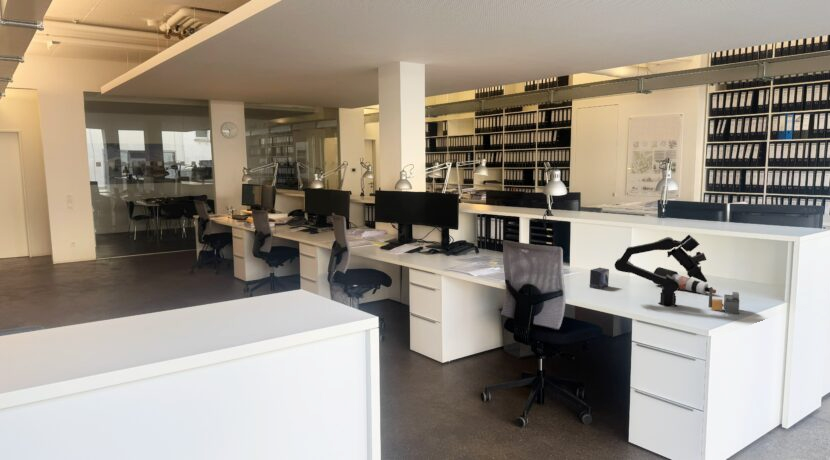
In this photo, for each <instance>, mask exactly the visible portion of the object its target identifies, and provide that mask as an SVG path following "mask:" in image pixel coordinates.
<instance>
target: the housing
mask: <svg viewBox="0 0 830 460" xmlns="http://www.w3.org/2000/svg"><path fill="white" fill-rule="evenodd" d="M739 293H740V292H738V291H732V294H724V299H723V305H724V307H723V310H724V314H730V315H731V314H732V315H739V314H740V313H739V311H740V294H739Z"/></svg>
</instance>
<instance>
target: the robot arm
mask: <svg viewBox="0 0 830 460" xmlns="http://www.w3.org/2000/svg"><path fill="white" fill-rule="evenodd" d="M699 245H700V243H699V242H698V240H697V239H695V238H694V237H693V236H692V235H690V234H687V235H686V236H685V238H683V239H682V240H676V239H674V238H672V237H670V236H667V237H664V238H661V239H659V240H657V241H654V242H649V243H645V244H638V245H635V246H627V248H626V249H625V252H624V253H623V254H622V256H621V257H620V258H618V259H616V261H615V263H614V268H615V270H616V271H619V272H622V273H629V274H633V275H636V276H638V277H641V278H643V279H645V280H648V281H651V282H652V283H654V282H656V283H658V284H660V285H659V286H661V292H660V298H659V299H660V300H659V302H657V303H658V305H661V306H663V307H677V306H678V304H677V303H676V302H677V296H676V291H678V290H679V289H680V288H679V282H678V280H677V279H675V277H671V276H670V275H668V274H667V276H666V277H664V276H660V275H657V274H655V273H654V272H653V271H649V270H647V269H644V268H641V267H639V266H636V265H634V263H632V262H631V261H629V260H630V259H631V257H632V256H633V255H637V254H642V253H647V252H652V251H667V252H666V253H667V258H669V257H671V256H672V257H673V258H674V259H675V260H676V262H678V263H679V265H680V266H682V267H683V268H684V269H685V271H686V273H687V277H688V278H691V279H692V278H694V279H695V280H696V279H697V280H698V281H700V282H702V283H707V282H708V279H707V277H706V276H705V275H704V273H703V272H702V266H701V263H700V262H703V261H704V262H705V261H707V257H706V255H705V253H704V252H701V251H697V252H695V255H693V256H692V255H690V254H688V253H687V252H690V253H691V252H692V251H693V250H695V249H696V248H697V247H698V246H699ZM699 265H700V266H699ZM658 284H657V285H658Z"/></svg>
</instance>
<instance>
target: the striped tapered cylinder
mask: <svg viewBox="0 0 830 460" xmlns="http://www.w3.org/2000/svg"><path fill="white" fill-rule="evenodd" d="M653 273H655V274H657V275H660V276H664V277H666V276H667V274H668V275H670V276H671V277H675V279H677V280H678V282H679V289H681V290H683V291H684V290H685V291H690V292H693V293H698V294H701V295H706V294H707V293H709V289H710V287H709V284H708V283H707V282H703V281H700V280H696V279H692V277H691V278H690V277H688V276H684V275H680V274H679V273H678V271H675V270H671V269H668V268H665V267H664V268H663V267H660V266H658V267H656V268H655V269H654V271H653ZM653 284H655V285H658V286H661V285H660V284H658V283H656V282H653ZM712 294H717V290H716V289H714V288H713V293H712Z"/></svg>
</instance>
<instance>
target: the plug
mask: <svg viewBox="0 0 830 460" xmlns="http://www.w3.org/2000/svg"><path fill="white" fill-rule="evenodd" d="M709 288H710V289H709V292H708V308H710V309H711V310H712V311H723V308H724V301H723V299H719V298H713V294H714V293H713V289H714V288H713V287H709Z"/></svg>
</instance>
